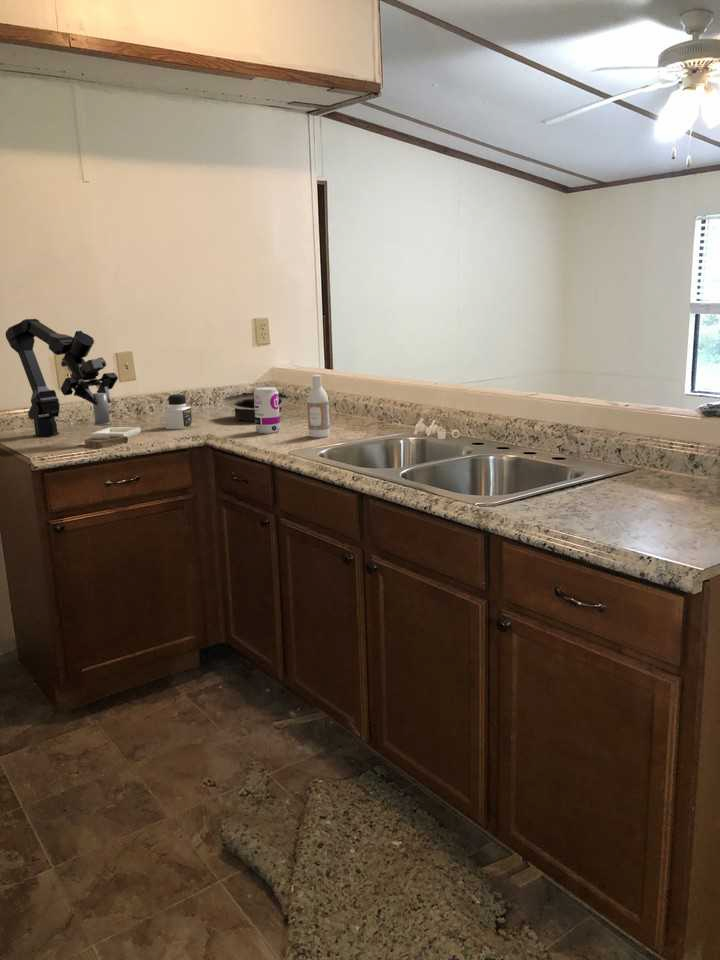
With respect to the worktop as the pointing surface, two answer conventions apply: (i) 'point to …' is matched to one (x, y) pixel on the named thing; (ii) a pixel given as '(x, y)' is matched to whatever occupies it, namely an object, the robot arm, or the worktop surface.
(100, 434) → the dish
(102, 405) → the grey rounded upright piece
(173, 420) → the medicine bottle
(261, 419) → the supplement can
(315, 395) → the bath foam
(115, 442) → the socket
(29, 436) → the worktop surface
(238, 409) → the stone bowl
